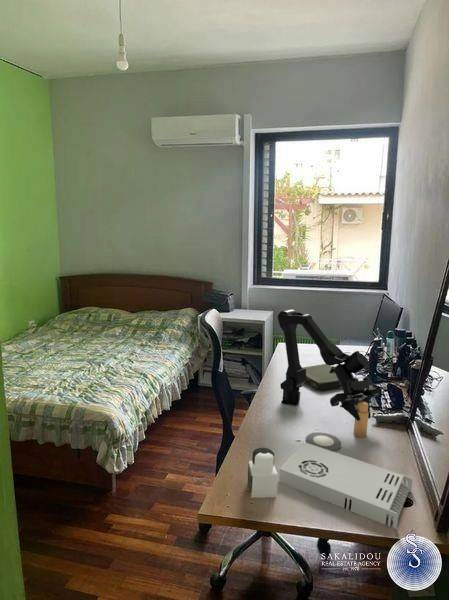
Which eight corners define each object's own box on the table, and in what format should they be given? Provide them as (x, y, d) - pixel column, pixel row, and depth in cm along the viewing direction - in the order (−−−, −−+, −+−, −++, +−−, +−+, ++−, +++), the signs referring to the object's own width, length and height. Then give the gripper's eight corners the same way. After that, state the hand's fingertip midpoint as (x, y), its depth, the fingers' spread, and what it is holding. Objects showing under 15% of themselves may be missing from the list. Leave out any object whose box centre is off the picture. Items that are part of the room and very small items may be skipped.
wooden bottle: (352, 435, 153) (355, 404, 151) (354, 430, 157) (357, 399, 155) (365, 438, 151) (369, 407, 149) (366, 433, 155) (370, 402, 153)
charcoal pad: (302, 446, 144) (302, 444, 144) (309, 431, 155) (310, 429, 155) (338, 455, 140) (338, 453, 140) (343, 438, 151) (343, 436, 150)
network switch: (358, 385, 202) (359, 375, 201) (324, 395, 189) (325, 385, 188) (321, 370, 221) (322, 361, 220) (288, 378, 208) (289, 369, 207)
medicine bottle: (247, 482, 123) (249, 444, 121) (271, 482, 124) (273, 444, 122) (250, 498, 116) (252, 458, 114) (276, 497, 117) (279, 458, 115)
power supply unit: (396, 531, 106) (398, 514, 106) (278, 484, 124) (279, 468, 123) (410, 493, 122) (412, 478, 121) (304, 456, 140) (305, 442, 139)
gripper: (337, 372, 149) (356, 415, 142) (377, 367, 157) (397, 406, 149) (322, 385, 158) (339, 426, 150) (360, 379, 166) (378, 418, 158)
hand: (364, 419), depth 152 cm, fingers closed on wooden bottle, 4 cm apart
